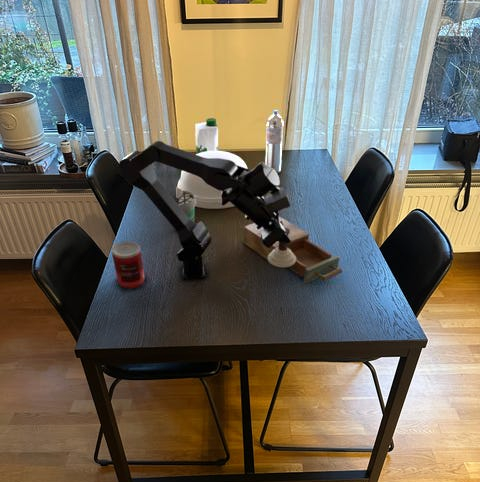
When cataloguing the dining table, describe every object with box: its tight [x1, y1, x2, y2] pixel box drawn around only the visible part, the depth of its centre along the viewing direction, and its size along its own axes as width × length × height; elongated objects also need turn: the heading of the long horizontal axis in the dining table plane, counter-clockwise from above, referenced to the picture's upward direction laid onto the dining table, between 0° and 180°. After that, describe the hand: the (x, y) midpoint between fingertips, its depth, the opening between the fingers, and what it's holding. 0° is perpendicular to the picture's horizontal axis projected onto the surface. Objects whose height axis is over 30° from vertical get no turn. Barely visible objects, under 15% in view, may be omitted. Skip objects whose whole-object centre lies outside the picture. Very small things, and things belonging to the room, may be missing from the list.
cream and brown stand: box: [267, 228, 296, 268], centre depth 125 cm, size 8×8×9 cm
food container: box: [175, 191, 196, 222], centre depth 153 cm, size 12×6×10 cm, turn 168°
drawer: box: [287, 238, 343, 284], centre depth 134 cm, size 19×12×4 cm, turn 36°
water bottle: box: [264, 109, 285, 175], centre depth 186 cm, size 7×7×25 cm
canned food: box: [111, 241, 146, 289], centre depth 127 cm, size 8×8×11 cm
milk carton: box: [194, 117, 219, 154], centre depth 190 cm, size 9×9×20 cm
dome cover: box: [175, 150, 249, 210], centre depth 174 cm, size 32×30×14 cm
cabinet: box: [243, 215, 310, 261], centre depth 144 cm, size 16×14×6 cm
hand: (288, 239), depth 124 cm, fingers closed on cream and brown stand, 3 cm apart
